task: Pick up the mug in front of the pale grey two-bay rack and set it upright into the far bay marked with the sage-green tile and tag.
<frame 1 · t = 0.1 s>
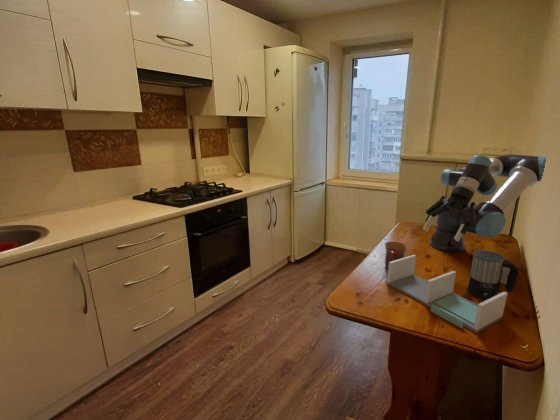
hand: (439, 234, 124), 15 cm above the table, tool tilted 35°, fingers open, 13 cm apart
milk frother: (482, 289, 113), on the table
mug 2: (502, 279, 121), on the table
mug: (392, 269, 128), on the table
rack: (438, 299, 106), on the table
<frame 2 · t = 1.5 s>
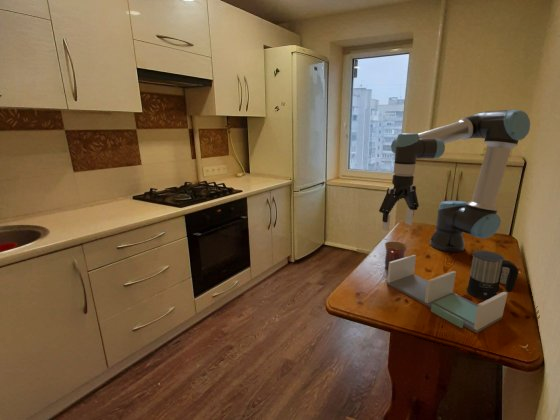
hand: (397, 227, 123), 19 cm above the table, tool pointing down, fingers open, 13 cm apart
nothing on the table moved.
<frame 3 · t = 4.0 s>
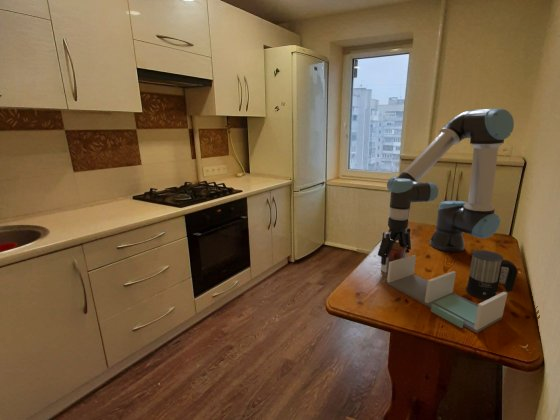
hand: (392, 268, 128), 0 cm above the table, tool pointing down, fingers closed on mug, 10 cm apart
mug: (392, 269, 128), on the table, touching gripper
everything else where it was.
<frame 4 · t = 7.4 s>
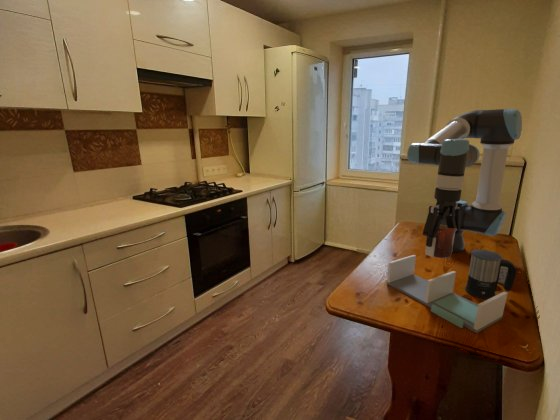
hand: (438, 252, 105), 16 cm above the table, tool pointing down, fingers closed on mug, 9 cm apart
mug: (439, 257, 104), point 15 cm above the table, touching gripper
everything else where it was.
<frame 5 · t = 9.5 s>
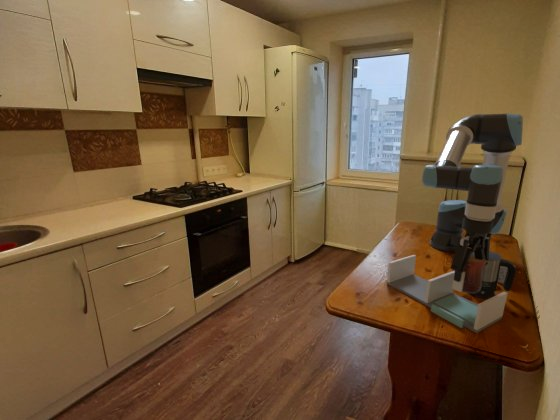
hand: (466, 286, 96), 9 cm above the table, tool pointing down, fingers closed on mug, 9 cm apart
mug: (467, 292, 95), point 8 cm above the table, touching gripper
everything else where it was.
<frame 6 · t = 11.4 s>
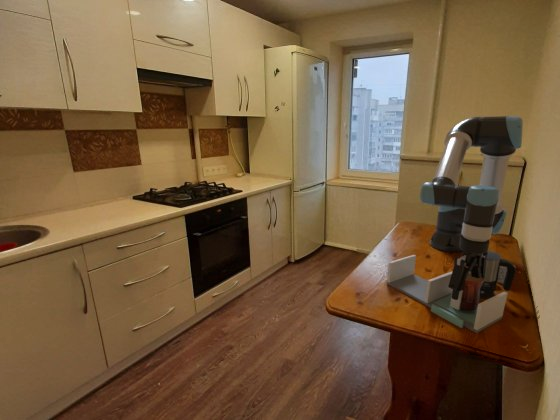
hand: (463, 303, 98), 3 cm above the table, tool pointing down, fingers closed on mug, 8 cm apart
mug: (465, 309, 97), point 2 cm above the table, touching gripper, rack
when the fingers open (3 cm above the table, at t = 11.5 s): mug moves 1 cm, resting on rack.
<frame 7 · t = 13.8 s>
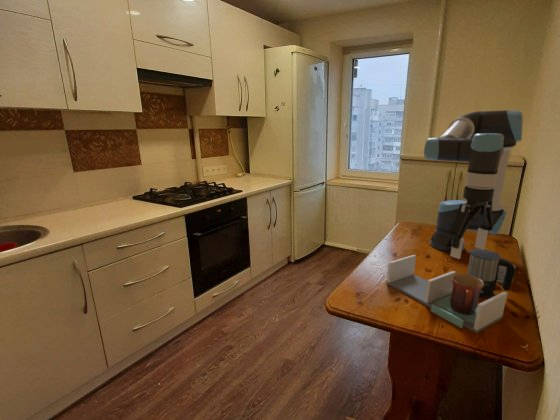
hand: (467, 252, 97), 19 cm above the table, tool pointing down, fingers open, 13 cm apart
mug: (462, 312, 97), point 1 cm above the table, touching rack
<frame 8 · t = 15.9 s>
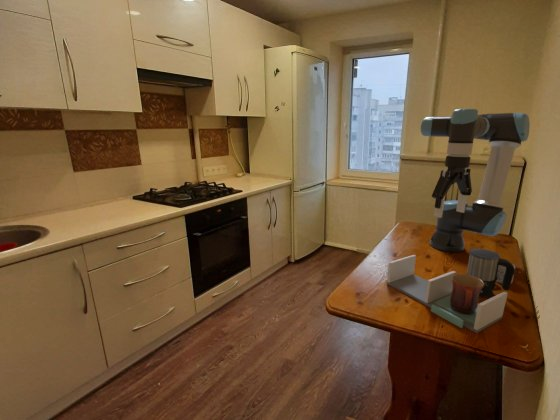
hand: (449, 214, 112), 27 cm above the table, tool pointing down, fingers open, 13 cm apart
at the end: mug inside the target area on the rack (2.4 cm from its centre), point 1.1 cm above the rack's base; mug tilted 0°; the gripper is holding nothing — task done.
